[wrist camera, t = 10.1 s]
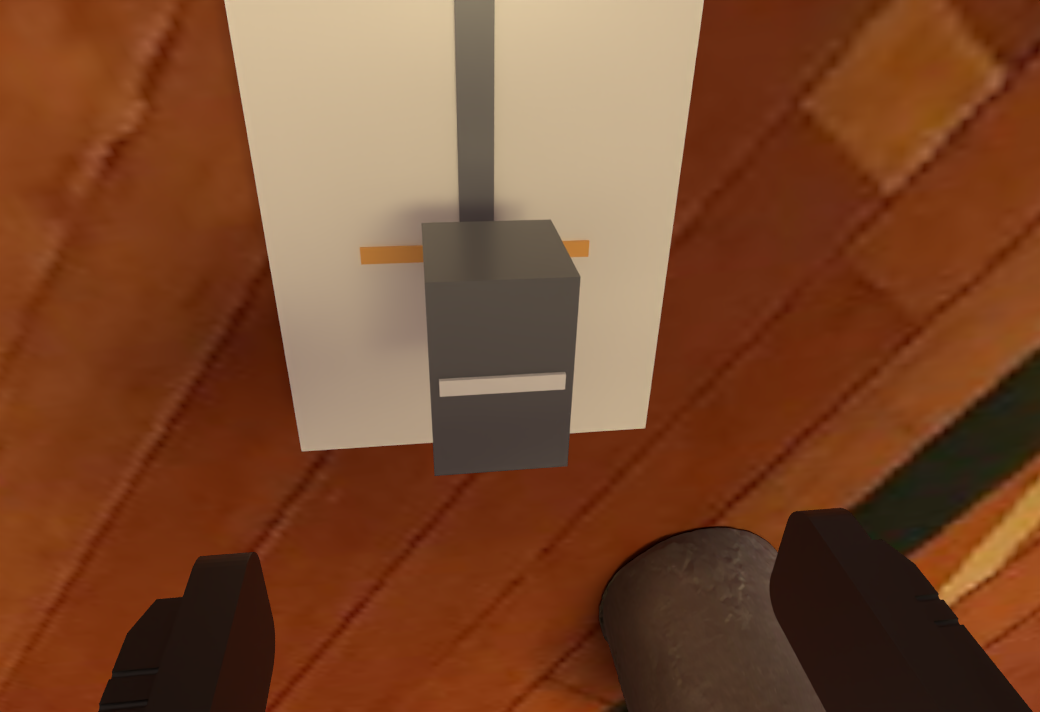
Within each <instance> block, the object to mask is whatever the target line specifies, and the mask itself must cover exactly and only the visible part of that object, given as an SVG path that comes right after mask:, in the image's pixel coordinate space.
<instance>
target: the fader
mask: <svg viewBox="0 0 1040 712" xmlns="http://www.w3.org/2000/svg"><path fill="white" fill-rule="evenodd" d="M421 225H422V244H423V263H424V283H425V302H426V321H427V340H428V360H429V379H430V398H431V417H432V435H433V453H434V472H435V476H439V475H453V474H466V473H480V472H493V471H507V470H520V469H534V468H548V467H561V466H567V463H568V449H569V434H570V420H571V406H572V392H573V378H574V364H575V349H576V335H577V321H578V307H579V293H580V279H581V277H580V275H579V273H578V271H577V269H576V267H575V265H574V263H573V261H572V259H571V257H570V255H569V253H568V252H567V250H566V248H565V246H564V244H563V242H562V240H561V238H560V236H559V234H558V232H557V230H556V228H555V226H554V225H553V223H552V221H551V219H549V220H513V221H476V222H439V223H421Z"/></svg>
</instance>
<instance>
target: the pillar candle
mask: <svg viewBox="0 0 1040 712" xmlns="http://www.w3.org/2000/svg"><path fill="white" fill-rule="evenodd" d="M777 554H778V552H777V551H776V550H775V549H774V548H773V546H772V545H771V544H769V543H768V542H767V541H766V540H764V539H763V538H761V537H759V536H758V535H755V534H753V533H751V532H747V531H743V530H738V529H731V528H718V527H716V528H709V529H700V530H695V531H692V532H687V533H684V534H680V535H677V536H673V537H671V538H669V539H667V540H665V541H662V542H660V543H658V544H657V545H655V546H653V547H652V548H650V549H649V550H647V551H645V552H644V553H642V554H640V555H639V556H637V557H636V558H635V559H633V560H632V561H631V562H629V563H628V564H626V565H625V566H624V567H623V568H621V569H620V570H619V571H618V572H617V573H616V574H615V576H614V577H613V579H612V581H611V582H609V584H608V586H607V588H606V590H605V592H604V594H603V596H602V599H603V601H601V605H600V608H599V621H600V626H601V629H602V633H603V636H604V638H605V639H606V641H607V642H608V644H609V647H610V650H611V653H612V657H613V660H614V665H615V668H616V671H617V674H618V679H619V683H620V685H621V688H622V692H623V696H624V698H625V702H626V706H627V709H628V712H826V711H825V709H824V707H823V705H822V703H821V701H820V699H819V698H818V696H817V694H816V692H815V690H814V688H813V686H812V685H811V683H810V681H809V679H808V677H807V675H806V673H805V671H804V670H803V668H802V666H801V664H800V662H799V660H798V658H797V656H796V655H795V653H794V651H793V649H792V647H791V645H790V643H789V641H788V640H787V638H786V636H785V634H784V632H783V630H782V628H781V626H780V625H779V623H778V621H777V619H776V617H775V614H774V611H773V608H772V604H771V599H770V591H769V584H770V577H771V573H772V570H773V567H774V564H775V560H776V557H777Z"/></svg>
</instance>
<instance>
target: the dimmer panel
mask: <svg viewBox="0 0 1040 712" xmlns="http://www.w3.org/2000/svg"><path fill="white" fill-rule="evenodd" d="M224 1H225V7H226V13H227V19H228V25H229V31H230V36H231V42H232V48H233V54H234V60H235V66H236V71H237V77H238V83H239V89H240V95H241V101H242V106H243V112H244V118H245V124H246V130H247V136H248V141H249V147H250V153H251V159H252V165H253V171H254V177H255V182H256V188H257V194H258V200H259V206H260V212H261V217H262V223H263V229H264V235H265V241H266V247H267V252H268V258H269V264H270V270H271V276H272V282H273V287H274V293H275V299H276V305H277V311H278V317H279V322H280V328H281V334H282V340H283V346H284V352H285V358H286V363H287V369H288V375H289V381H290V387H291V393H292V398H293V404H294V410H295V416H296V422H297V428H298V433H299V439H300V445H301V451H315V450H330V449H345V448H360V447H375V446H389V445H404V444H419V443H433V435H432V417H431V398H430V379H429V360H428V340H427V321H426V302H425V283H424V263H423V244H422V225H421V223H439V222H476V221H513V220H549V219H551V221H552V223H553V225H554V226H555V228H556V230H557V232H558V234H559V236H560V238H561V240H562V242H563V244H564V246H565V248H566V250H567V252H568V253H569V255H570V257H571V259H572V261H573V263H574V265H575V267H576V269H577V271H578V273H579V275H580V277H581V279H580V293H579V307H578V321H577V335H576V349H575V364H574V378H573V392H572V406H571V420H570V433H582V432H596V431H611V430H626V429H641V428H645V426H646V419H647V411H648V404H649V397H650V390H651V382H652V375H653V368H654V360H655V353H656V346H657V339H658V331H659V324H660V317H661V309H662V302H663V295H664V288H665V280H666V273H667V266H668V259H669V251H670V244H671V237H672V229H673V222H674V215H675V208H676V200H677V193H678V186H679V178H680V171H681V164H682V157H683V149H684V142H685V135H686V128H687V120H688V113H689V106H690V98H691V91H692V84H693V77H694V69H695V62H696V55H697V47H698V40H699V33H700V26H701V18H702V11H703V4H704V0H224Z"/></svg>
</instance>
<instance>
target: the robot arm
mask: <svg viewBox="0 0 1040 712" xmlns="http://www.w3.org/2000/svg"><path fill="white" fill-rule="evenodd" d="M769 591H770V599H771V604H772V608H773V611H774V614H775V617H776V619H777V621H778V623H779V625H780V626H781V628H782V630H783V632H784V634H785V636H786V638H787V640H788V641H789V643H790V645H791V647H792V649H793V651H794V653H795V655H796V656H797V658H798V660H799V662H800V664H801V666H802V668H803V670H804V671H805V673H806V675H807V677H808V679H809V681H810V683H811V685H812V686H813V688H814V690H815V692H816V694H817V696H818V698H819V699H820V701H821V703H822V705H823V707H824V709H825V711H826V712H1032V710H1031V709H1030V708H1029V707H1028V705H1027V704H1026V703H1025V702H1024V700H1023V699H1022V698H1021V697H1020V695H1019V694H1018V693H1017V691H1016V690H1015V689H1014V688H1013V686H1012V685H1011V684H1010V683H1009V681H1008V680H1007V679H1006V678H1005V676H1004V675H1003V674H1002V673H1001V671H1000V670H999V669H998V668H997V666H996V665H995V664H994V663H993V661H992V660H991V659H990V658H989V656H988V655H987V654H986V653H985V651H984V650H983V649H982V648H981V646H980V645H979V644H978V643H977V641H976V640H975V639H974V638H973V636H972V635H971V634H970V633H969V631H968V630H967V629H966V628H965V626H964V625H960V624H959V623H958V618H957V616H956V615H955V614H954V613H953V611H952V610H951V609H950V608H949V606H948V605H947V604H946V602H945V601H944V600H940V599H939V597H938V592H937V591H936V590H935V589H934V587H933V586H932V585H931V584H930V582H929V581H928V580H927V579H926V577H925V576H924V575H923V574H922V572H921V571H920V570H919V569H918V567H917V566H916V565H915V564H914V563H913V562H911V561H910V560H909V559H907V558H906V557H905V556H903V555H902V554H901V553H899V552H898V551H897V550H895V549H894V548H893V547H891V546H890V545H889V544H887V543H886V542H885V541H883V540H882V539H881V540H871V538H870V537H869V536H868V534H867V533H866V532H865V530H864V529H863V528H862V527H861V525H860V524H859V523H858V521H857V520H856V519H855V517H854V516H853V515H852V514H851V513H850V512H849V511H847V510H846V509H843V508H833V509H820V510H808V511H796V512H793V513H792V514H791V515H790V517H789V519H788V521H787V524H786V528H785V531H784V534H783V538H782V541H781V544H780V547H779V551H778V554H777V557H776V560H775V564H774V567H773V570H772V573H771V577H770V584H769ZM274 655H275V629H274V621H273V617H272V612H271V608H270V603H269V599H268V595H267V590H266V586H265V582H264V577H263V573H262V568H261V564H260V560H259V557H258V555H257V553H255V552H249V553H236V554H223V555H210V556H200V557H199V558H198V559H197V560H196V562H195V564H194V566H193V568H192V571H191V574H190V577H189V580H188V583H187V586H186V589H185V592H184V595H183V597H178V598H167V599H156V601H155V602H154V603H153V604H152V605H151V606H150V608H149V609H148V610H147V611H146V612H145V613H144V615H143V616H142V617H141V618H140V619H139V620H138V621H137V623H136V624H135V625H134V626H133V627H132V628H131V630H130V631H129V632H128V633H127V635H126V638H125V640H124V643H123V645H122V648H121V650H120V653H119V655H118V658H117V660H116V663H115V665H114V668H113V671H112V679H109V681H108V683H107V686H106V688H105V691H104V693H103V696H102V698H101V701H100V703H99V706H100V708H99V711H98V712H265V709H266V704H267V698H268V693H269V687H270V682H271V676H272V671H273V665H274Z"/></svg>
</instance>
